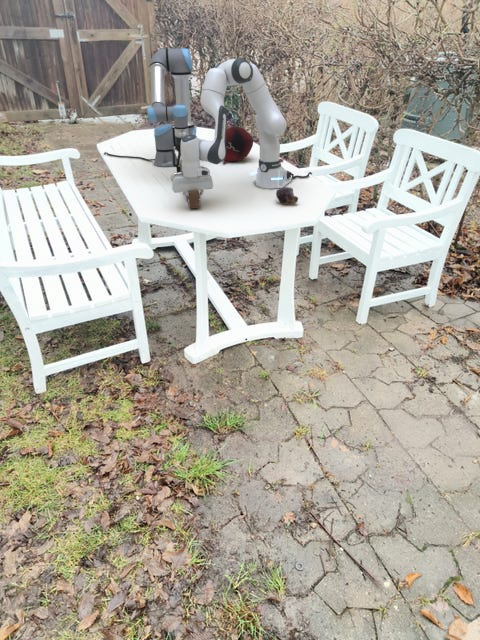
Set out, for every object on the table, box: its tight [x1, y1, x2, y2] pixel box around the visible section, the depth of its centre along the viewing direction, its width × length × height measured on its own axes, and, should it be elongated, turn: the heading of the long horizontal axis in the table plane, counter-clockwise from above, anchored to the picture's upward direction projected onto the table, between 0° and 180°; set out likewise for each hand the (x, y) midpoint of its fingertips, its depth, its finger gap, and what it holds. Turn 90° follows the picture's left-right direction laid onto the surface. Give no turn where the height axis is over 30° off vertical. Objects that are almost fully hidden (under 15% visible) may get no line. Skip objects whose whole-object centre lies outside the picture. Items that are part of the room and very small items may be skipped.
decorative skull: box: [222, 126, 254, 165], centre depth 296 cm, size 21×24×25 cm
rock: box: [275, 186, 299, 205], centre depth 230 cm, size 12×9×10 cm
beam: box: [179, 163, 201, 209], centre depth 242 cm, size 52×5×8 cm, turn 12°
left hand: (185, 178), depth 261 cm, fingers closed on beam, 5 cm apart
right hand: (193, 198), depth 226 cm, fingers closed on beam, 5 cm apart
